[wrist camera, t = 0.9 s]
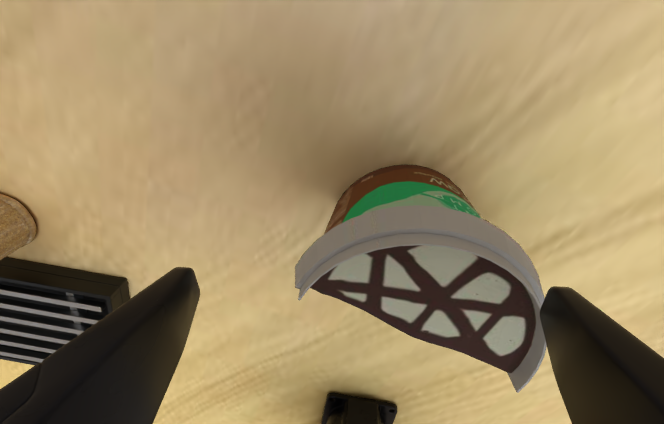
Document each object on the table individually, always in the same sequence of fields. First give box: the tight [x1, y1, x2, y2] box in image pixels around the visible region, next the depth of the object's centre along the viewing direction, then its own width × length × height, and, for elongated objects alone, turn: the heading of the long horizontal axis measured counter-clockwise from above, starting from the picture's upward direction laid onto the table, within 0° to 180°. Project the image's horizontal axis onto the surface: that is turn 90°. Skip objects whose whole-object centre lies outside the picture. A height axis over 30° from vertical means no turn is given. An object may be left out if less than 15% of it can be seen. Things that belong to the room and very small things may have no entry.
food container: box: [295, 165, 547, 393], centre depth 19 cm, size 12×6×10 cm, turn 64°
